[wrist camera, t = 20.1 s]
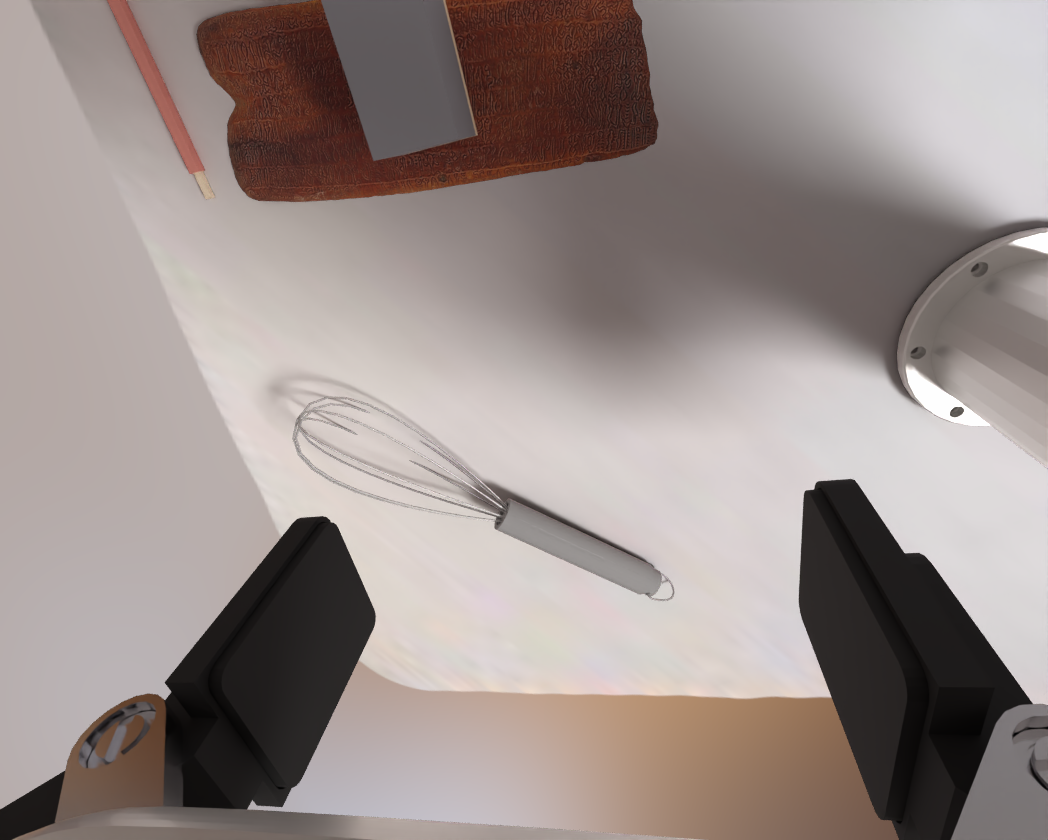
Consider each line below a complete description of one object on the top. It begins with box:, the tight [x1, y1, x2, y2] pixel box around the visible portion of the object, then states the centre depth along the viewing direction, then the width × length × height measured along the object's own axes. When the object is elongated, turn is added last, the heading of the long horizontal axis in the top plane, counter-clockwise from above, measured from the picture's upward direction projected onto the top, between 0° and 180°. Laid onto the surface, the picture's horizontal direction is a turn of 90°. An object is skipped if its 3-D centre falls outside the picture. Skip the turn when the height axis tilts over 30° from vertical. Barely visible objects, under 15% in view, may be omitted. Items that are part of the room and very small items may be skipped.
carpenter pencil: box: [107, 0, 215, 200], centre depth 32 cm, size 1×12×1 cm, turn 13°
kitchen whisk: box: [293, 397, 674, 601], centre depth 42 cm, size 6×34×6 cm, turn 61°
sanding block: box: [321, 0, 478, 161], centre depth 27 cm, size 4×8×6 cm, turn 13°
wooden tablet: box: [196, 0, 658, 202], centre depth 31 cm, size 27×10×2 cm, turn 95°
